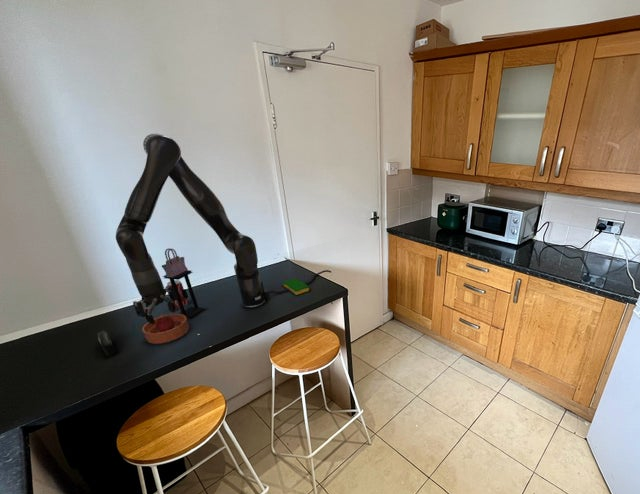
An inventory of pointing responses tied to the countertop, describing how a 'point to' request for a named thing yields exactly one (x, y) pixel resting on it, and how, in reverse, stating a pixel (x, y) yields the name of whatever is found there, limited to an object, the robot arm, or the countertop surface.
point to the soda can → (179, 287)
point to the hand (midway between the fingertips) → (163, 317)
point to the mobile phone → (106, 343)
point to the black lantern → (177, 271)
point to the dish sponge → (296, 286)
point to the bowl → (162, 337)
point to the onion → (164, 324)
